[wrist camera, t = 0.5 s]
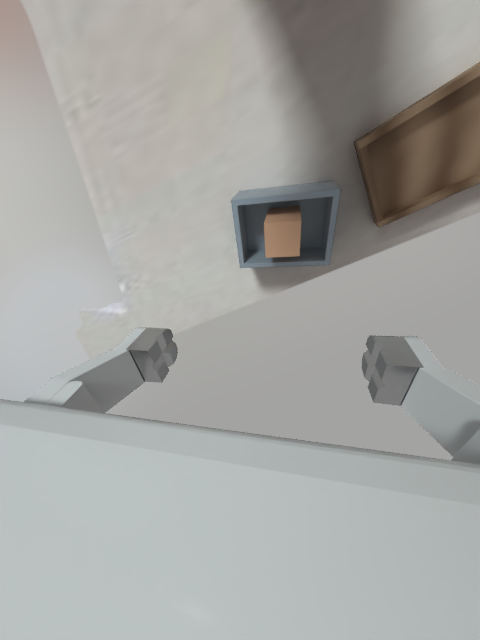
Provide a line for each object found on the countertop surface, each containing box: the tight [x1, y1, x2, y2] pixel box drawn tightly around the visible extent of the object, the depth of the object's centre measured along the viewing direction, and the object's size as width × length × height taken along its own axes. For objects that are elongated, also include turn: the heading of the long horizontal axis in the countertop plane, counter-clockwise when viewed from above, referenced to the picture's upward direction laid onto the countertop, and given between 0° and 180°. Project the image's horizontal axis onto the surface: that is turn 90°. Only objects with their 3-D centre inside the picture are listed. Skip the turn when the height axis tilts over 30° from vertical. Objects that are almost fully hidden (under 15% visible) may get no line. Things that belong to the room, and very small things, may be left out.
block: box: [264, 206, 301, 258], centre depth 34 cm, size 5×5×8 cm
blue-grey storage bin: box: [231, 181, 341, 268], centre depth 35 cm, size 11×15×6 cm
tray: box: [354, 62, 480, 227], centre depth 28 cm, size 18×12×2 cm, turn 122°
